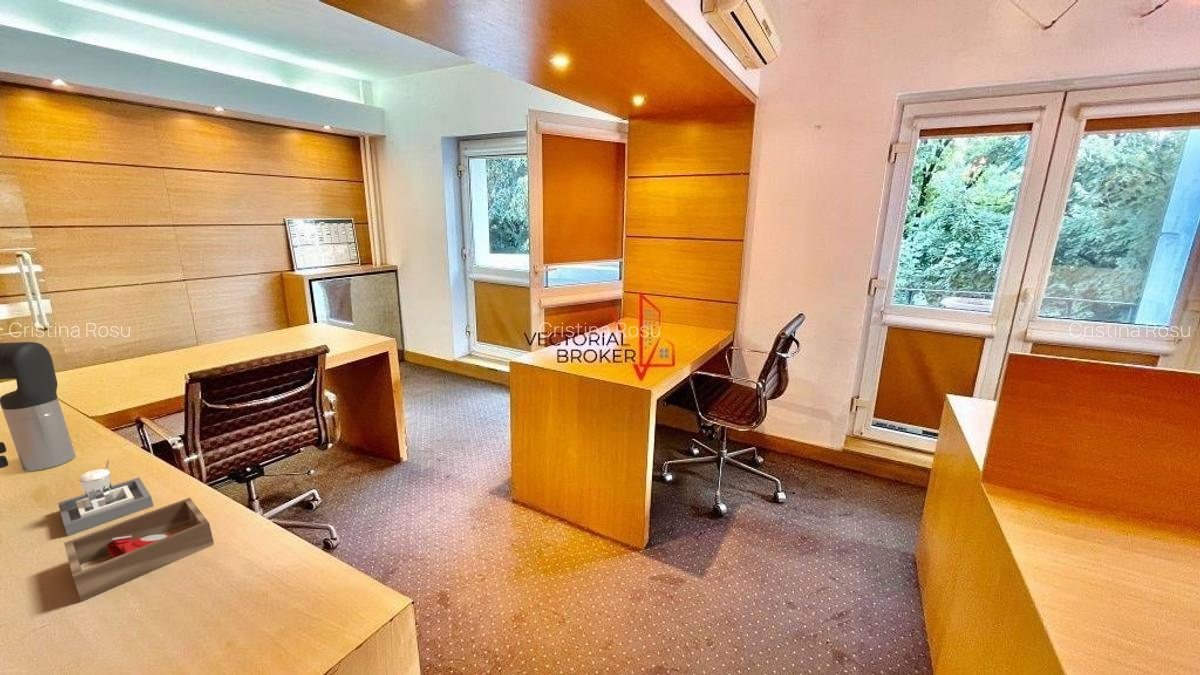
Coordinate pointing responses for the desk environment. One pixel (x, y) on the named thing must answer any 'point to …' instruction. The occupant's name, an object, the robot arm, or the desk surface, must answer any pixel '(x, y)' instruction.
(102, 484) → the milkshake
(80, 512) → the dock box
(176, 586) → the desk surface
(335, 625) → the desk surface
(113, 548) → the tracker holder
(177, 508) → the tray
